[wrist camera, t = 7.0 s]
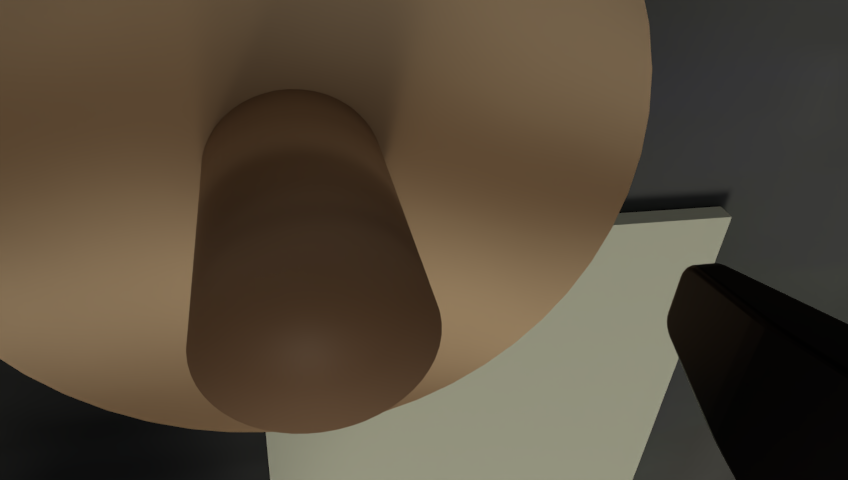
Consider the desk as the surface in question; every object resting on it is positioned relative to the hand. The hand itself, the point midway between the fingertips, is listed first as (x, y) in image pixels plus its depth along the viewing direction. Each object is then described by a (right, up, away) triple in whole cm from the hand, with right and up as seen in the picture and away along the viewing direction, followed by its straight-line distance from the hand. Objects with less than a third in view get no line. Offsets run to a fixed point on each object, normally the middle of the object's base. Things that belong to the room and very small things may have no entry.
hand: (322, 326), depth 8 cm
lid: (-1, +3, +4) cm, 5 cm away
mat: (+3, -4, +16) cm, 17 cm away
